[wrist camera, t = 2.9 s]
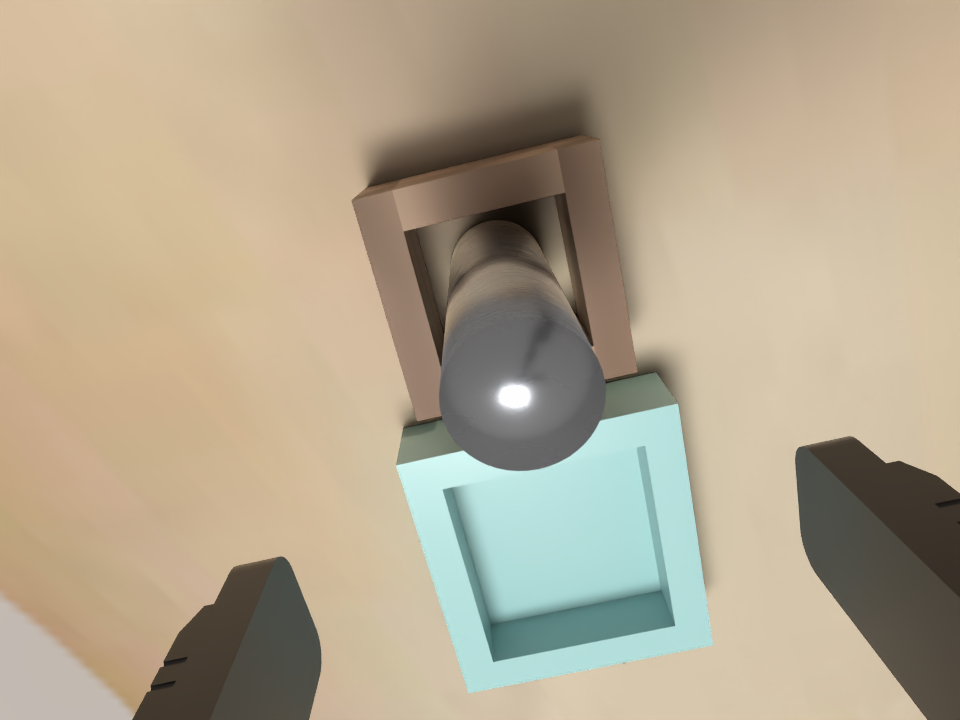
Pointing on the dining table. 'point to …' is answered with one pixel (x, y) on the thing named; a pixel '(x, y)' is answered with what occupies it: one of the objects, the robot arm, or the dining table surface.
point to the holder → (480, 188)
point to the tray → (563, 545)
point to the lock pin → (514, 355)
